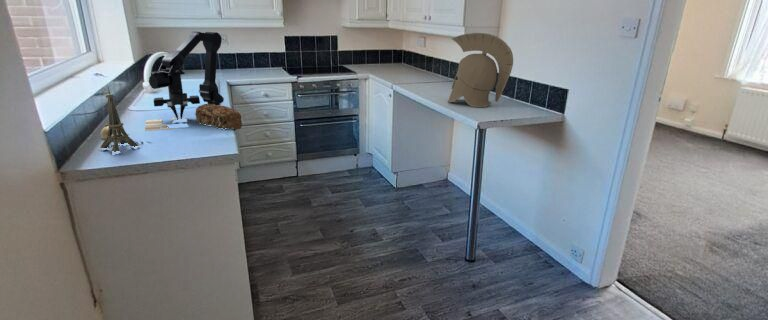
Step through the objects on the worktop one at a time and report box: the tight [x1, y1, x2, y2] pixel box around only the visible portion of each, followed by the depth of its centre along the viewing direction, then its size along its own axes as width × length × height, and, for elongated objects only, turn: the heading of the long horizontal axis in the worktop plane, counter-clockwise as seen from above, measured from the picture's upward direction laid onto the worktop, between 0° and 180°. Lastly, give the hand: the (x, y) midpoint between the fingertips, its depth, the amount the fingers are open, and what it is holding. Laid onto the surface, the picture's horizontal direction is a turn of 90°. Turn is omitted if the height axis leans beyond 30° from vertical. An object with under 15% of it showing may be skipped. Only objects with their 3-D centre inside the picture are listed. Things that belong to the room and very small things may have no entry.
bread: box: [194, 103, 243, 131], centre depth 192 cm, size 19×11×10 cm, turn 58°
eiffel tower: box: [99, 82, 139, 152], centre depth 159 cm, size 11×11×25 cm
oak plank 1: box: [144, 118, 163, 126], centre depth 193 cm, size 8×6×2 cm
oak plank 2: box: [171, 116, 188, 122], centre depth 198 cm, size 8×6×2 cm
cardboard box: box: [144, 123, 174, 132], centre depth 188 cm, size 9×17×2 cm, turn 116°
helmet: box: [447, 32, 514, 108], centre depth 246 cm, size 20×36×40 cm, turn 64°
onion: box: [100, 123, 122, 140], centre depth 171 cm, size 8×8×7 cm
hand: (179, 119), depth 199 cm, fingers closed on oak plank 2
